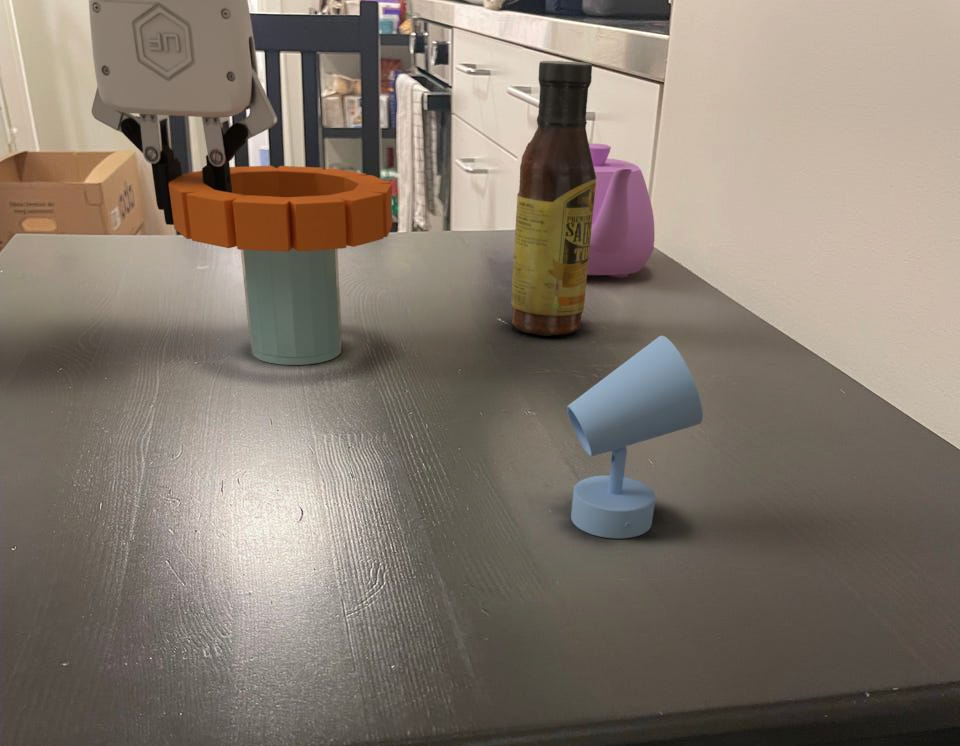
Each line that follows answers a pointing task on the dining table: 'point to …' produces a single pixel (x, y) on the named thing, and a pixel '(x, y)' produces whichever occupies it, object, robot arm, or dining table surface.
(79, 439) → the dining table surface
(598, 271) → the teapot
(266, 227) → the ring
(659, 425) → the spotlight
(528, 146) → the sauce bottle
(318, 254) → the teal cup
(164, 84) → the robot arm
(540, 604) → the dining table surface
